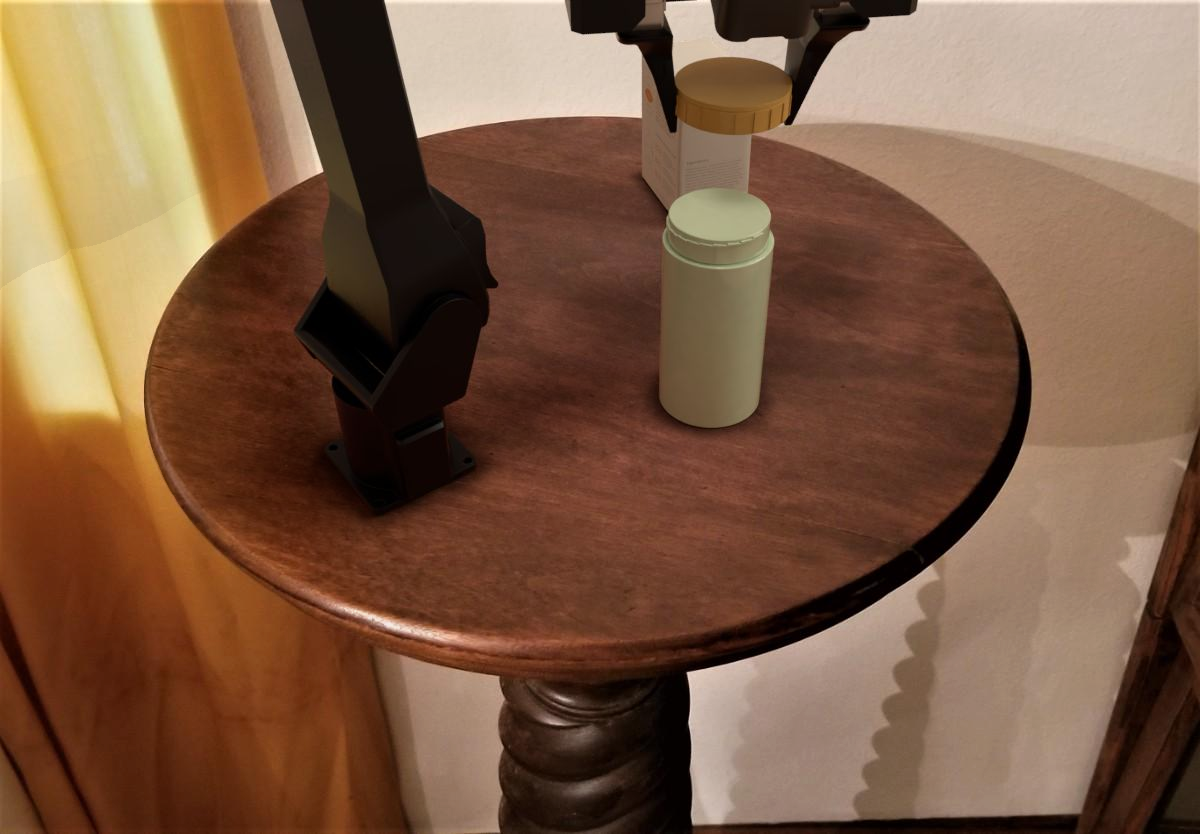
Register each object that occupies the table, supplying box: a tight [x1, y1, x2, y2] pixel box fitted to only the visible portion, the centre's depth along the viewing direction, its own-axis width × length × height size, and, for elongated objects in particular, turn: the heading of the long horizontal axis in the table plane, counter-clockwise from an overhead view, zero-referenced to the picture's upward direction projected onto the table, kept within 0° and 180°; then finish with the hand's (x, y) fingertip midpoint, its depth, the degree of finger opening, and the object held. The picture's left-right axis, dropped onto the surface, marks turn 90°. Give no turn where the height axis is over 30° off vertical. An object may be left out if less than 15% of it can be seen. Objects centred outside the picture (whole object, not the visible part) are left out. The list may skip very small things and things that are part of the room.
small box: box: [641, 36, 752, 213], centre depth 83 cm, size 8×6×10 cm
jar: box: [658, 188, 775, 429], centre depth 65 cm, size 6×6×12 cm
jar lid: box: [675, 56, 792, 135], centre depth 66 cm, size 7×7×2 cm
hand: (728, 126), depth 68 cm, fingers closed on jar lid, 6 cm apart
